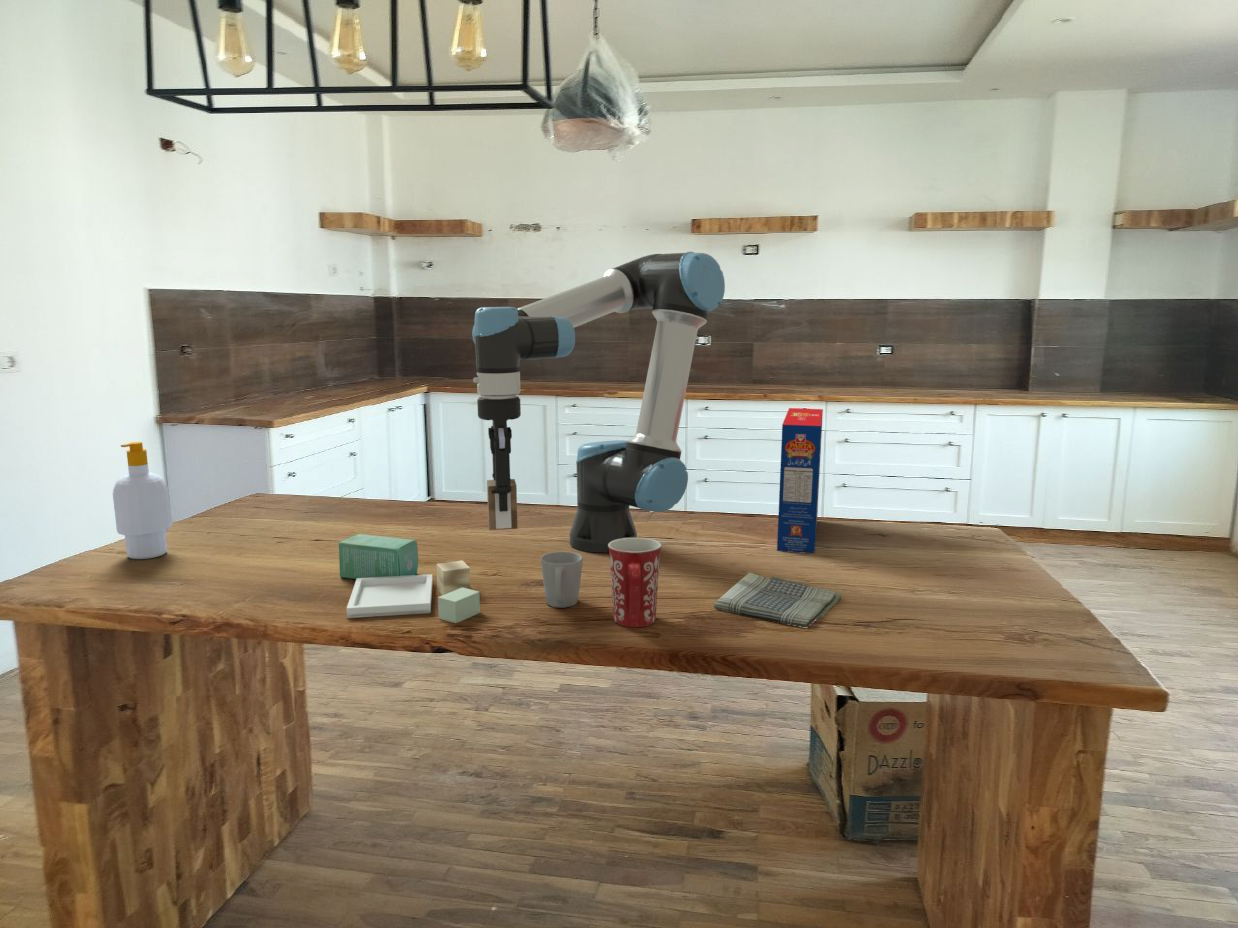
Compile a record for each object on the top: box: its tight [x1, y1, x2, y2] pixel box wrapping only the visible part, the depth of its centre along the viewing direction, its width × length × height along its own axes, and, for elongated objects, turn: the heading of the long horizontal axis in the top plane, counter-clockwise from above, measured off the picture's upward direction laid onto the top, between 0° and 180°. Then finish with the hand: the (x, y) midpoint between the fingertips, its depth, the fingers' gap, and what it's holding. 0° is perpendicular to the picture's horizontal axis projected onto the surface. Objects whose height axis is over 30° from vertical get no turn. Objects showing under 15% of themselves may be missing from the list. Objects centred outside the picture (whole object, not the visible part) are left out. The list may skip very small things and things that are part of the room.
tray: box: [346, 573, 434, 619], centre depth 155 cm, size 14×16×2 cm
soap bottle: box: [112, 441, 173, 560], centre depth 179 cm, size 10×10×24 cm
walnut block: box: [486, 478, 518, 531], centre depth 154 cm, size 5×5×8 cm
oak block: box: [436, 560, 471, 596], centre depth 160 cm, size 5×5×5 cm
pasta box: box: [776, 407, 824, 554], centre depth 196 cm, size 28×8×28 cm, turn 166°
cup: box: [540, 551, 584, 609], centre depth 153 cm, size 8×10×8 cm
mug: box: [608, 537, 663, 628], centre depth 143 cm, size 13×9×14 cm
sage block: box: [437, 587, 481, 624], centre depth 148 cm, size 6×4×4 cm, turn 146°
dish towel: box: [713, 572, 843, 627], centre depth 155 cm, size 19×18×3 cm
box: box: [338, 533, 419, 580], centre depth 168 cm, size 7×14×8 cm, turn 74°
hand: (502, 523), depth 155 cm, fingers closed on walnut block, 5 cm apart
